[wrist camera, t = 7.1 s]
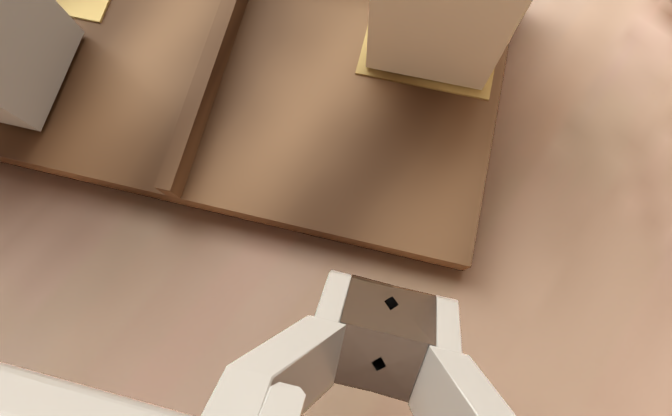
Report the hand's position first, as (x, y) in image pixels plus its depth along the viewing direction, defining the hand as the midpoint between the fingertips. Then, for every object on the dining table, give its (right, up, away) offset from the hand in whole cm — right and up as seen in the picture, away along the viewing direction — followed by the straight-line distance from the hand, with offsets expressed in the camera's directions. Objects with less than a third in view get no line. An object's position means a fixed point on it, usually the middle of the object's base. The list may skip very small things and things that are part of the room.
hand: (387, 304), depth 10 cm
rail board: (-6, +8, +8) cm, 13 cm away
